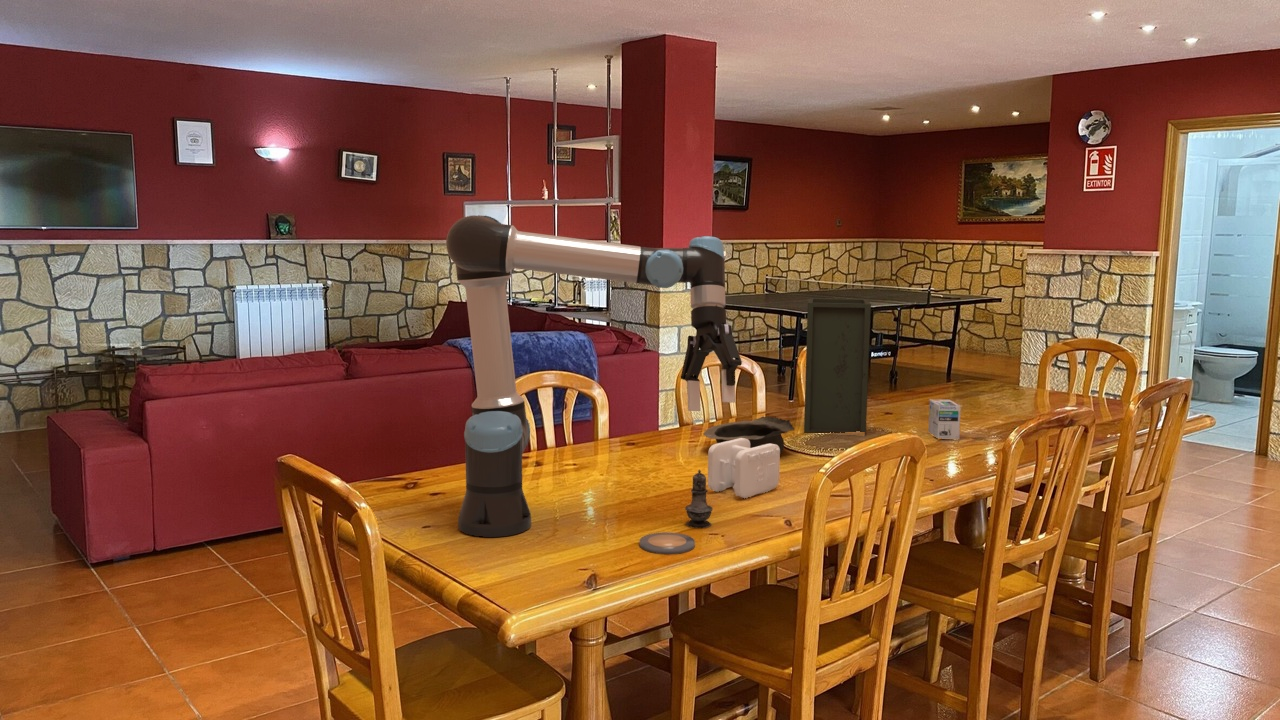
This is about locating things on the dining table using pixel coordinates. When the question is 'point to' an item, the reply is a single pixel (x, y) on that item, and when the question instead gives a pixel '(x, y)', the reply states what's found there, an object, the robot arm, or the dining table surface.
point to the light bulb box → (944, 419)
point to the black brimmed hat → (752, 431)
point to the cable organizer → (743, 467)
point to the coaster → (667, 543)
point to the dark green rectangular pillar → (837, 365)
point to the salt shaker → (699, 503)
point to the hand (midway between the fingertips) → (711, 406)
